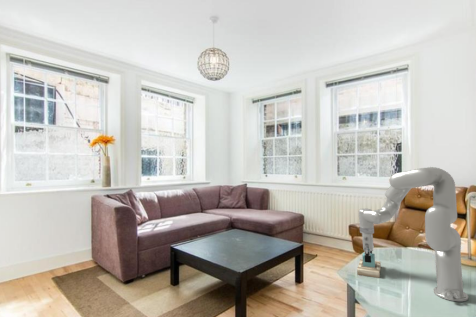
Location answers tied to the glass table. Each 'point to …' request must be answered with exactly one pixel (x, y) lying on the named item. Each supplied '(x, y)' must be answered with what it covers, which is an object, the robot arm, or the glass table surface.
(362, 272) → the birch base
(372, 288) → the glass table surface
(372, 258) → the teal block
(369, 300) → the glass table surface
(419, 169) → the robot arm
